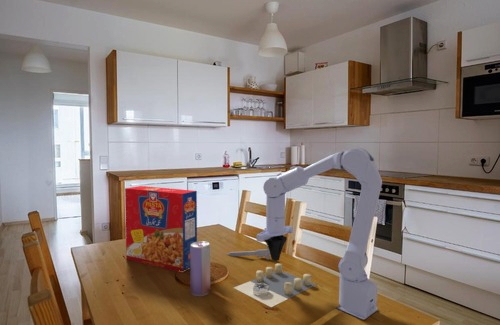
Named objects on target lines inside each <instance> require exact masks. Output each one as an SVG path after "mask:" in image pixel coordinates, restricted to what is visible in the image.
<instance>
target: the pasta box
mask: <svg viewBox="0 0 500 325" xmlns="http://www.w3.org/2000/svg"><path fill="white" fill-rule="evenodd" d="M197 193H198V192H197V190H192V189H191V190H189V189H179V188H167V187H158V186H157V187H155V186H147V185H146V186H145V185H138V186H137V185H136V186H132V187H125V188H124V199H125V201H124V203H125V206H124V207H125V250H126V251H125V252H126V254H125V255H126V257H125V259H126V260H127V261H132V262H135V263H140V264H144V265H149V266H153V267H157V268H162V269H166V270H169V271H174V272H177V271H179V270H180V271H184V270H186V269H188V268H190V247H191V244H192V243H193V242H198V217H197V216H198V214H197V213H198V211H197V210H198V206H197V203H198V199H197V198H198V197H197V196H198V195H197Z"/></svg>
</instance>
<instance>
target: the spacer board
mask: <svg viewBox="0 0 500 325" xmlns="http://www.w3.org/2000/svg"><path fill="white" fill-rule="evenodd" d="M302 277H303V278H301V277H299V276H297V275H294V274H291V273H289V272H287V271H283V263H278V262H277V263H275V264H274V267H273V266H266V267H265V275H264V270H259V269H258V270H256V272H255V278H254V279H252V280H249V281H247V282H244V283H241V284H239V285H236V286H234V287H233V289H235V290H237V291H238V292H240V293H242V294H244V295H246V296H248V297H250V298H252V299H254V300H255V301H258V302H259V303H262V304H264V305H266V306H268V307H269V308H273V307H275V306H277V305H279V304H281V303H283V302H285V301H286V300H289V299H291V298H293V297H295V296H297V295H299V294H301V293H303V292H305V291H307V290H309V289H311V288H314V287H315V286H317V283H315V282H312V275H311V274H310V273H304V274H303V276H302ZM257 283H265V284H267V285H269V294H268V296H262V297H259V296H256V295H254V294H253V287H254V285H255V284H257Z"/></svg>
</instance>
